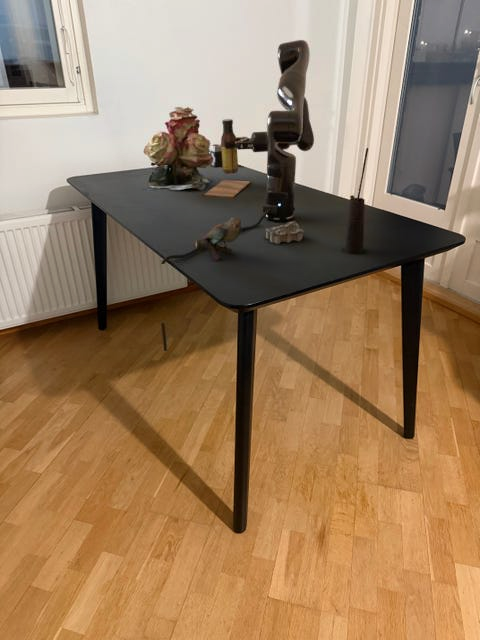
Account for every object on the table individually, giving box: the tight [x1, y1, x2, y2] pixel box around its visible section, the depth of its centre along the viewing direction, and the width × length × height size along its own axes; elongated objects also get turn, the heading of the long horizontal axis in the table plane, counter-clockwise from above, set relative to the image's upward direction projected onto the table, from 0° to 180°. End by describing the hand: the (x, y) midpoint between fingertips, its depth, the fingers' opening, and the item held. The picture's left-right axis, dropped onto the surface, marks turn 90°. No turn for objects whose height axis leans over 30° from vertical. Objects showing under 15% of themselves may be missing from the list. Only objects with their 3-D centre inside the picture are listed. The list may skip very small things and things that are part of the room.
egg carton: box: [264, 220, 305, 245], centre depth 139 cm, size 11×8×4 cm
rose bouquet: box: [143, 106, 213, 191], centre depth 191 cm, size 26×29×30 cm
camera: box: [209, 143, 223, 168], centre depth 230 cm, size 14×8×10 cm, turn 131°
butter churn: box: [344, 147, 369, 255], centre depth 125 cm, size 9×10×28 cm
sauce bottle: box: [220, 118, 239, 175], centre depth 183 cm, size 7×6×20 cm
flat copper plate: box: [204, 179, 251, 199], centre depth 190 cm, size 24×12×1 cm, turn 163°
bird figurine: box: [195, 216, 243, 261], centre depth 126 cm, size 13×10×20 cm
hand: (223, 144), depth 182 cm, fingers closed on sauce bottle, 6 cm apart
